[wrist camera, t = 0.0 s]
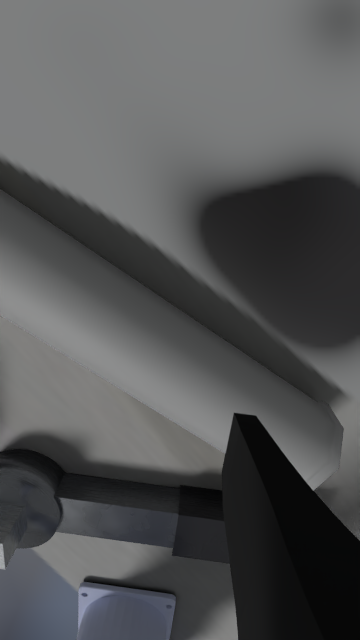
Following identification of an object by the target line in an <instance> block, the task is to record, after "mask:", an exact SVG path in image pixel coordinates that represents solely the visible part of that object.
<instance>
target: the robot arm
mask: <svg viewBox="0 0 360 640" xmlns="http://www.w3.org/2000/svg"><path fill="white" fill-rule="evenodd" d="M222 493H223V513H224V521H225V529H226V537H227V545H228V552H229V560H230V568H231V575H232V583H233V591H234V598H235V606H236V617H237V627H238V640H360V541H359V540H358V539H357V538H356V537H355V536H354V535H353V534H352V533H351V532H350V531H349V530H348V529H347V528H346V527H345V526H344V524H343V523H342V522H341V521H340V520H339V519H338V518H337V517H336V516H335V515H334V514H333V513H332V511H331V510H330V509H329V508H328V507H327V506H326V505H325V503H324V502H323V501H322V500H321V499H320V498H319V497H318V495H317V494H316V493H315V492H314V491H313V490H312V489H311V487H310V486H309V485H308V484H307V483H306V481H305V480H304V479H303V478H302V476H301V475H300V474H299V473H298V471H297V470H296V469H295V467H294V466H293V465H292V464H291V462H290V461H289V460H288V458H287V457H286V456H285V454H284V453H283V452H282V450H281V449H280V448H279V446H278V445H277V444H276V442H275V441H274V440H273V438H272V437H271V435H270V434H269V433H268V431H267V430H266V428H265V427H264V426H263V424H262V423H261V422H260V420H259V419H258V418H257V416H256V415H248V414H241V413H234V415H233V420H232V424H231V429H230V434H229V439H228V444H227V449H226V454H225V459H224V464H223V469H222ZM175 604H176V597H175V596H174V595H173V594H168V593H161V592H154V591H147V590H140V589H132V588H125V587H118V586H111V585H104V584H97V583H90V582H82V583H81V584H80V587H79V616H78V621H79V622H78V623H79V624H78V626H79V627H78V635H77V638H76V640H169V639H170V634H171V628H172V622H173V616H174V610H175Z"/></svg>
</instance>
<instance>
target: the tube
mask: <svg viewBox="0 0 360 640" xmlns="http://www.w3.org/2000/svg"><path fill="white" fill-rule="evenodd" d="M0 316H2V317H4V318H5V319H7V320H8V321H10V322H12V323H13V324H15V325H17V326H18V327H20V328H21V329H23V330H25V331H26V332H28V333H30V334H31V335H33V336H34V337H36V338H38V339H39V340H41V341H43V342H44V343H46V344H47V345H49V346H51V347H52V348H54V349H56V350H57V351H59V352H61V353H62V354H64V355H65V356H67V357H69V358H70V359H72V360H74V361H75V362H77V363H78V364H80V365H82V366H83V367H85V368H87V369H88V370H90V371H91V372H93V373H95V374H96V375H98V376H100V377H101V378H103V379H104V380H106V381H108V382H109V383H111V384H113V385H114V386H116V387H117V388H119V389H121V390H122V391H124V392H126V393H127V394H129V395H131V396H132V397H134V398H135V399H137V400H139V401H140V402H142V403H144V404H145V405H147V406H148V407H150V408H152V409H153V410H155V411H157V412H158V413H160V414H161V415H163V416H165V417H166V418H168V419H170V420H171V421H173V422H174V423H176V424H178V425H179V426H181V427H183V428H184V429H186V430H188V431H189V432H191V433H192V434H194V435H196V436H197V437H199V438H201V439H202V440H204V441H205V442H207V443H209V444H210V445H212V446H214V447H215V448H217V449H218V450H220V451H222V452H223V453H225V454H226V449H227V444H228V439H229V434H230V429H231V424H232V420H233V415H234V413H241V414H248V415H256V416H257V418H258V419H259V420H260V422H261V423H262V424H263V426H264V427H265V428H266V430H267V431H268V433H269V434H270V435H271V437H272V438H273V440H274V441H275V442H276V444H277V445H278V446H279V448H280V449H281V450H282V452H283V453H284V454H285V456H286V457H287V458H288V460H289V461H290V462H291V464H292V465H293V466H294V467H295V469H296V470H297V471H298V473H299V474H300V475H301V476H302V478H303V479H304V480H305V481H306V483H307V484H308V485H309V486H310V487H311V489H312V490H313V491H314V490H315V489H316V488H317V487H318V486H319V485H321V484H322V483H323V482H324V481H325V480H326V479H327V478H329V477H330V476H331V475H332V474H333V473H334V472H336V471H337V470H338V469H339V464H340V456H341V447H342V439H343V430H344V428H343V427H342V425H341V424H340V422H339V420H338V419H337V417H336V416H335V414H334V412H333V411H332V409H331V408H330V406H329V405H328V404H327V403H325V402H324V401H321V402H317V401H315V400H313V399H312V398H310V397H309V396H307V395H306V394H304V393H303V392H301V391H300V390H298V389H297V388H295V387H294V386H292V385H291V384H289V383H288V382H286V381H285V380H283V379H282V378H280V377H279V376H277V375H276V374H274V373H273V372H271V371H270V370H269V369H267V368H266V367H264V366H263V365H261V364H260V363H258V362H257V361H255V360H254V359H252V358H251V357H249V356H248V355H246V354H245V353H243V352H242V351H240V350H239V349H237V348H236V347H234V346H233V345H231V344H230V343H228V342H227V341H225V340H224V339H222V338H221V337H219V336H218V335H217V334H215V333H214V332H212V331H211V330H209V329H208V328H206V327H205V326H203V325H202V324H200V323H199V322H197V321H196V320H194V319H193V318H191V317H190V316H188V315H187V314H185V313H184V312H182V311H181V310H179V309H178V308H176V307H175V306H173V305H172V304H170V303H169V302H167V301H166V300H164V299H163V298H162V297H160V296H159V295H157V294H156V293H154V292H153V291H151V290H150V289H148V288H147V287H145V286H144V285H142V284H141V283H139V282H138V281H136V280H135V279H133V278H132V277H130V276H129V275H127V274H126V273H124V272H123V271H121V270H120V269H118V268H117V267H115V266H114V265H112V264H111V263H110V262H108V261H107V260H105V259H104V258H102V257H101V256H99V255H98V254H96V253H95V252H93V251H92V250H90V249H89V248H87V247H86V246H84V245H83V244H81V243H80V242H78V241H77V240H75V239H74V238H72V237H71V236H69V235H68V234H66V233H65V232H63V231H62V230H60V229H59V228H58V227H56V226H55V225H53V224H52V223H50V222H49V221H47V220H46V219H44V218H43V217H41V216H40V215H38V214H37V213H35V212H34V211H32V210H31V209H29V208H28V207H26V206H25V205H23V204H22V203H20V202H19V201H17V200H16V199H14V198H13V197H11V196H10V195H8V194H7V193H6V192H4V191H3V190H1V189H0Z"/></svg>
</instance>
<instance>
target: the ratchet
mask: <svg viewBox="0 0 360 640" xmlns="http://www.w3.org/2000/svg"><path fill="white" fill-rule="evenodd" d="M55 532H62V533H69V534H76V535H83V536H90V537H98V538H105V539H112V540H119V541H126V542H134V543H141V544H148V545H155V546H162V547H169V548H173V551H172V556H180V557H187V558H194V559H201V560H208V561H215V562H223V563H230V560H229V552H228V545H227V537H226V529H225V521H224V513H223V493H222V491H219V490H211V489H204V488H196V487H189V486H182V485H180V488H172V487H165V486H158V485H150V484H143V483H136V482H128V481H121V480H114V479H106V478H99V477H92V476H84V475H77V474H69V473H65V472H64V471H63V469H62V468H61V467H60V466H59V465H58V464H57V463H55V462H54V461H53V460H51V459H50V458H48V457H46V456H44V455H42V454H40V453H37V452H33V451H29V450H21V449H16V450H8V451H4V452H2V453H0V569H6V567H7V565H8V564H9V562H10V560H11V558H12V556H13V554H14V552H15V550H16V548H32V547H36V546H39V545H41V544H43V543H45V542H47V541H48V540H49V539H50V538H51V537H52V536H53V535H54V533H55Z"/></svg>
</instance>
